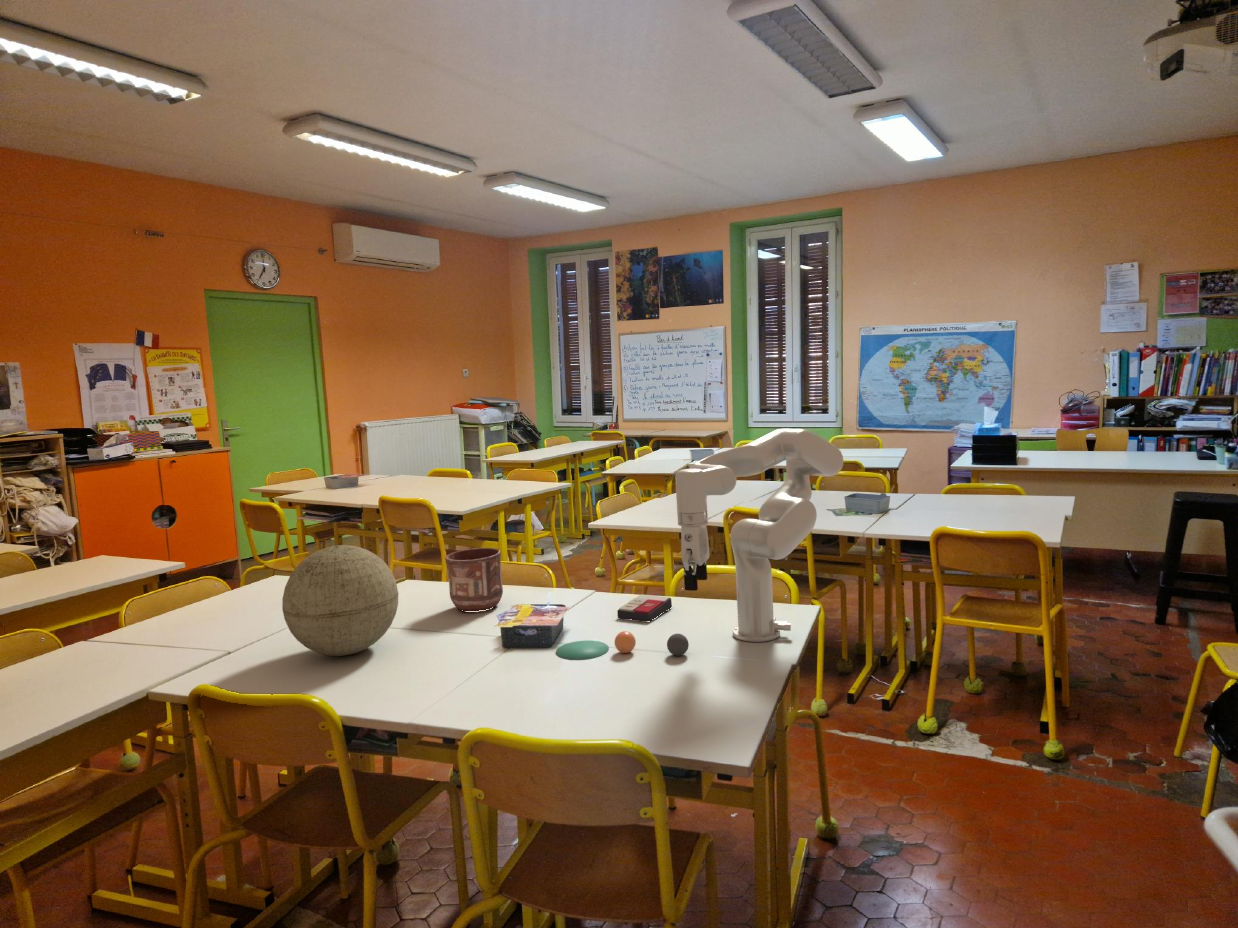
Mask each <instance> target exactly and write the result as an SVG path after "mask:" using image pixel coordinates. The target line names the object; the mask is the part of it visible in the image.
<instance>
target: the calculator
mask: <svg viewBox="0 0 1238 928" xmlns="http://www.w3.org/2000/svg"><path fill="white" fill-rule="evenodd" d="M671 607H672V608H673V605H672V598H671V597H669V596H662V595H651V594H640V595H638V596H636V597H634V598H632V599H631V600H630V601H628V602H627V603H625V604H623V605H621V606H620V607H619V609H617V611H616V612H617V619H618V618H620V619H619V620H624V619H632V620H639V621H638V622H641V621H652V619H654V618H656V617H657V616H659V615H660V614H661V613H663V612H665V611H666V610H668V609H670V608H671ZM670 610H671V609H670ZM665 613H666V612H665ZM663 614H664V613H663ZM659 617H660V616H659ZM656 619H657V618H656ZM632 620H631V621H632Z"/></svg>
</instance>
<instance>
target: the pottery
mask: <svg viewBox="0 0 1238 928" xmlns="http://www.w3.org/2000/svg"><path fill="white" fill-rule="evenodd" d="M501 558H502V555H501V550H499V549H497V548H492V547H476V548H475V547H474V548H468V549H467V548H466V549H462V550H457V551H453V552H451V553H449V554H447V555H446V556H445V557H444V559H445V564H446V569H447V575H448V585H449V587H448V588H449V590H448V591H449V598H450V600H451V602H452V604H453V605H454V606H455V608H457V609H458V611H460V610H463V611H479V610H486V609H490V608H492V607H494V606H496V605H497V606H498V604H499V603H500V602H501V600H502V597H503V593H504V590H503V588H504V587H503V577H502V565H501V564H502V563H501V562H502V560H501ZM497 606H496V607H497Z"/></svg>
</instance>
